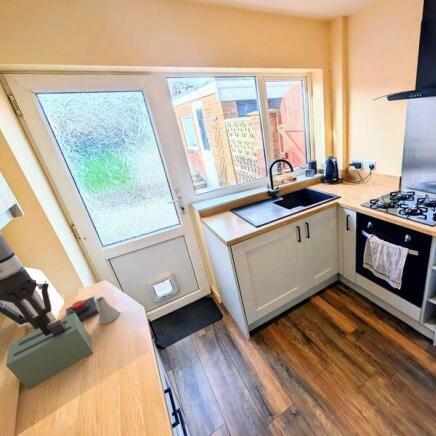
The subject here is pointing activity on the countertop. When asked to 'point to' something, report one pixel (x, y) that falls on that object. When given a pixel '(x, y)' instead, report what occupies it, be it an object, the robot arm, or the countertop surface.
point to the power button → (78, 305)
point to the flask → (106, 311)
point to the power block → (85, 310)
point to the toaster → (48, 352)
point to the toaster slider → (57, 328)
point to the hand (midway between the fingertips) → (48, 332)
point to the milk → (40, 298)
